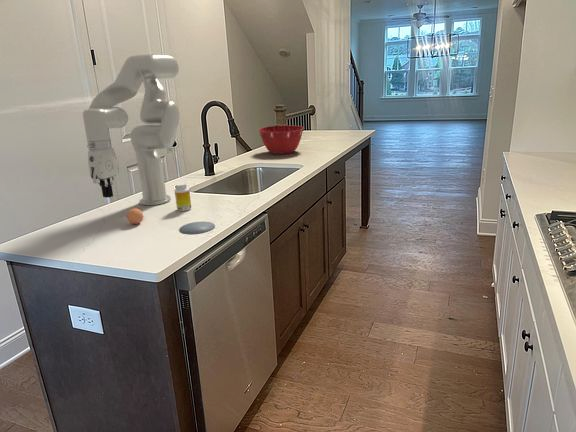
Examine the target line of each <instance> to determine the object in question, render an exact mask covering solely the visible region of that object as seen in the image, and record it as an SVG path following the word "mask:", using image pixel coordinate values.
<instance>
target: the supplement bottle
mask: <svg viewBox="0 0 576 432" xmlns="http://www.w3.org/2000/svg"><path fill="white" fill-rule="evenodd" d="M190 192H191V191H190V188H188V186H187V183H186V182H179V183H176V184H175V189H174V196H175V203H176V205H175V206H176V210H178V211H179V212H186V211H190V210H191V209H192V202H191V195H190Z"/></svg>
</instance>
